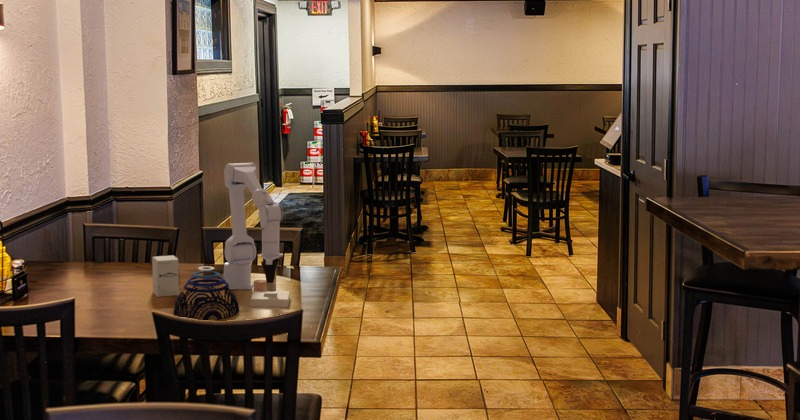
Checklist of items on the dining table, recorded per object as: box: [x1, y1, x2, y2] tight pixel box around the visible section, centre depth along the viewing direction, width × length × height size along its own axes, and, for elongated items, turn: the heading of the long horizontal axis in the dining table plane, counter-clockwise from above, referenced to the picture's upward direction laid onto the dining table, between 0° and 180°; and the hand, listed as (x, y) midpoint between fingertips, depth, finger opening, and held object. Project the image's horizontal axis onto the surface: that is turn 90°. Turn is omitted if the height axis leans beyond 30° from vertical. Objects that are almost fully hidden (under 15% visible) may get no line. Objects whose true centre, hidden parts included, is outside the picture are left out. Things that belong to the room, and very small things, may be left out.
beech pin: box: [266, 270, 277, 292], centre depth 285 cm, size 3×3×8 cm
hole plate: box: [250, 290, 291, 308], centre depth 287 cm, size 12×10×2 cm
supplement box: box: [151, 254, 180, 298], centre depth 292 cm, size 7×7×13 cm
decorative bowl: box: [173, 265, 240, 321], centre depth 273 cm, size 20×20×14 cm
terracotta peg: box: [252, 279, 266, 292], centre depth 294 cm, size 5×5×5 cm
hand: (270, 281), depth 286 cm, fingers closed on beech pin, 3 cm apart
